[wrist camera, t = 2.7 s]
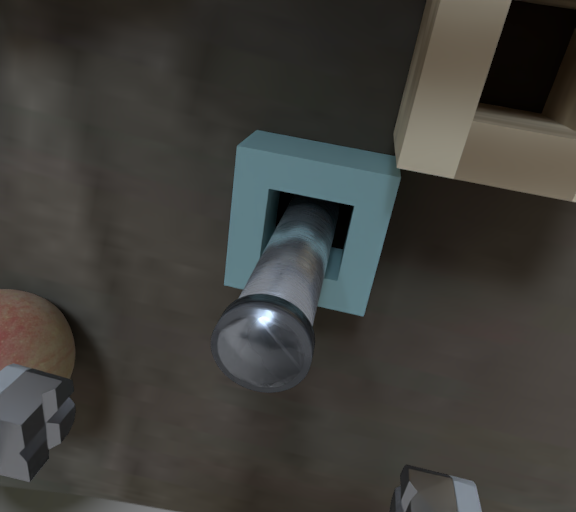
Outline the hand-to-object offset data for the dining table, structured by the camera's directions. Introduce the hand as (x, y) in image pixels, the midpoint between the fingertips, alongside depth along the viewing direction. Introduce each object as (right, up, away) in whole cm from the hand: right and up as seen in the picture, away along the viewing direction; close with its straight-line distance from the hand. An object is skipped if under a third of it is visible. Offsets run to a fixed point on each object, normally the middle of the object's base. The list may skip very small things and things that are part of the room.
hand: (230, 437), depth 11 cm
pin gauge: (+3, +7, +13) cm, 15 cm away
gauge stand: (+3, +7, +13) cm, 15 cm away
